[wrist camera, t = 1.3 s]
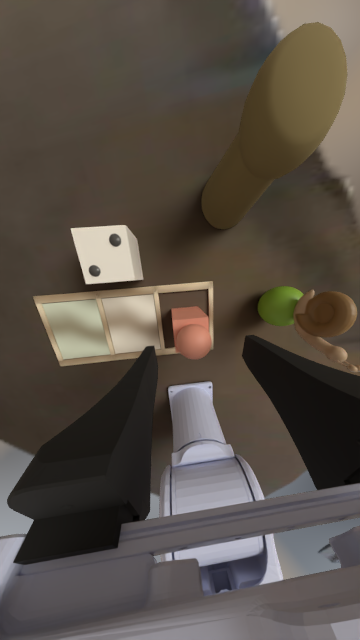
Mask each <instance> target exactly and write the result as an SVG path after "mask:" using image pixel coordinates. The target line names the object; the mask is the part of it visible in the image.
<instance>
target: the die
mask: <svg viewBox="0 0 360 640" xmlns="http://www.w3.org/2000/svg"><path fill="white" fill-rule="evenodd" d="M71 232H72V235H73V239H74V243H75V246H76V250H77V253H78V257H79V260H80V264H81V268H82V271H83V275H84V278H85V282H86V284H96V283H110V282H122V281H134V280H143V274H142V268H141V261H140V255H139V248H138V242H137V239H136V237H135V236H134V235H133V234H132V232H131V231H130V230H129V229H128V228H127V226H126V225H118V226H103V227H87V228H71Z"/></svg>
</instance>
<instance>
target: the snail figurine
mask: <svg viewBox="0 0 360 640" xmlns="http://www.w3.org/2000/svg"><path fill="white" fill-rule="evenodd" d="M313 295H314V290H310V291H308V292H307V293H305V294H304V295H303V293H301V292H300V291H299V290H297V289H295V288H293V287H288V286H280V287H275V288H272V289H270V290H268V291H267V292H266V293H264V294H263V295H262V297H261V298H260V300H259V303H258V312H259V314H260V316H261V318H262V319H263V320H264V321H266V322H267V323H269V324H272V325H276V326H286V325H290V324H293V323H294V325H295V329H296V331H297V333H298V334H299V335H300V336H301V337H302V338H303V339H304V340H305V341H306V342H307V343H309V344H310V345H311V346H313V347H314V348H315V349H317V350H318V351H320V352H322V353H323V354H324V355H325V356H326V357H327V358H328V359H330V360H332V361H334V362H339V363H340V364H342V363H341V362H343V361H344V362H346V361H345V360H346V359H347V353H346V351H345V350H344V349H342V348H340V347H337V346H333V345H331V344H329V343H328V342H326V341H325V340H323V339H322V338H320V337H333V336H337V335H340V334H342V333H344V332H346V331H347V330H349V329H350V328H351V327H352V325H353V324H354V322H355V320H356V317H357V308H356V305H355V303H354V302H353V300H352V299H351V298H350V297H348V296H347V295H345V294H343V293H339V292H333V291H330V292H323V293H320V294H318V295H316V296H315V297H313ZM346 363H347V362H346ZM347 364H349V363H347ZM342 365H344V364H342ZM349 365H350V366H346V365H344V366H346V367H347V369H348V370H349V371H352V372H357V371H360V365H356V366H353V365H351V364H349Z"/></svg>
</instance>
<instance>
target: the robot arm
mask: <svg viewBox="0 0 360 640" xmlns="http://www.w3.org/2000/svg"><path fill="white" fill-rule="evenodd" d="M242 357H243V359H244V361H245V363H246V365H247V366H248V368H249V370H250V371H251V372H252V374H253V375H254V377H255V378H256V380H257V381H258V382H259V384H260V385H261V387H262V388H263V389H264V391H265V392H266V394H267V395H268V397H269V398H270V400H271V401H272V403H273V405H274V406H275V408H276V410H277V411H278V413H279V415H280V417H281V418H282V420H283V422H284V424H285V426H286V428H287V429H288V431H289V433H290V435H291V437H292V439H293V441H294V443H295V445H296V447H297V449H298V451H299V453H300V455H301V457H302V459H303V461H304V463H305V465H306V467H307V469H308V472H309V474H310V476H311V478H312V480H313V482H314V485H315V487H316V488H317V490H316V491H311V492H305V493H299V494H293V495H287V496H281V497H276V498H270V499H264V496H263V493H262V491H261V488H260V486H259V483H258V481H257V479H256V477H255V475H254V473H253V471H252V469H251V467H250V466H249V464H248V463H247V462H246V461H245V460H244V459H243V458H242V457H241V456H240V455H238V454H237V455H234V453H233V450H232V447H231V445H230V444H228V445H226V442H225V439H224V436H223V433H222V430H221V427H220V424H219V422H218V419H217V416H216V413H215V410H214V407H213V404H212V382H210V381H209V382H201V383H193V384H184V385H176V386H170V387H169V388H168V393H169V400H170V408H171V416H172V423H173V451H174V453H172V466H171V465H167V466H166V468H165V470H164V472H163V473H162V477H161V485H160V504H159V518H154V519H148V520H145V519H146V517H147V516H148V514H149V512H150V478H151V445H152V422H153V409H154V402H155V394H156V387H157V379H158V363H157V358H156V353H155V347H154V346H146V347H145V349H144V350H143V352H142V353H141V355H140V356H139V357H138V359H137V360H136V362H135V363H134V364H133V366H132V367H131V368H130V369H129V371H128V372H127V373H126V374H125V376H124V377H123V378H122V379H121V380H120V381H119V382H118V384H117V385H116V386H115V387H114V388H113V389H112V390H111V391H110V392H109V393H108V394H107V395H106V396H104V397H103V398H102V399H101V400H100V401H99V402H98V403H97V404H96V405H95V406H93V407H92V408H91V409H90V410H89V411H88V412H86V413H85V414H84V415H83V416H81V417H80V418H79V419H78V420H76V421H75V422H74V423H73V424H71V425H70V426H69V427H67V428H66V429H65V430H63V431H62V432H61V433H59V434H58V435H56V436H55V437H54V438H52V439H51V440H50V441H48V442H47V443H45V444H44V445H43V446H41V448H40V449H39V451H38V452H37V454H36V455H35V457H34V458H33V460H32V461H31V463H30V464H29V466H28V467H27V469H26V470H25V472H24V473H23V475H22V477H21V478H20V480H19V481H18V483H17V484H16V486H15V487H14V489H13V490H12V492H11V493H10V495H9V497H8V499H7V503H8V506H9V507H10V508H11V509H13V510H14V511H16V512H18V513H21V514H23V515H25V516H27V517H29V518H31V519H34V521H33V524H32V525H31V527H30V530H29V531H28V533H27V534H14V535H8V536H2V537H0V640H360V526H357V527H354V528H352V529H350V530H349V531H347V532H345V533H343V534H341V535H338V536H335V537H332V538H330V539H329V543H330V545H331V547H332V548H333V550H334V552H335V554H336V555H337V557H338V559H339V561H340V563H341V568H339V569H335V570H330V571H325V572H320V573H316V574H310V575H306V576H300V577H296V578H291V579H286V580H283V575H282V571H281V568H280V564H279V560H278V556H277V552H276V548H275V543H274V539H273V534H274V533H278V532H284V531H290V530H294V529H300V528H305V527H311V526H316V525H322V524H327V523H332V522H338V521H343V520H348V519H354V518H359V517H360V376H357V375H353V374H350V373H346V372H343V371H340V370H337V369H334V368H331V367H328V366H325V365H322V364H319V363H316V362H314V361H311V360H308V359H306V358H303V357H301V356H299V355H296V354H294V353H291V352H289V351H287V350H285V349H283V348H280V347H278V346H276V345H274V344H272V343H270V342H268V341H266V340H264V339H261V338H259V337H257V336H254V335H248V336H245V342H244V348H243V353H242ZM209 386H210V387H209ZM171 391H172V392H171ZM156 555H161V561H162V562H159V563H157V561H156V559H155V558H154V557H153V556H156Z"/></svg>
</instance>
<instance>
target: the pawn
mask: <svg viewBox="0 0 360 640" xmlns="http://www.w3.org/2000/svg"><path fill="white" fill-rule="evenodd" d="M171 310H172V321H173V331H174V341H175V351H176V353H179V352H180V353H181V354H182V355H183V356H185V357H187V358H189V359H200V358H202V357H204V356H205V355H206V354H207V353H208V352H209V350H210V348H211V345H212V339H211V335H210V333H209V317H208V316H207V315H206V314H205V313H204V312H203V311H202V310H201V309H200V308H199V307H198V306H196V307H185V308H175V309H171Z"/></svg>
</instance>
